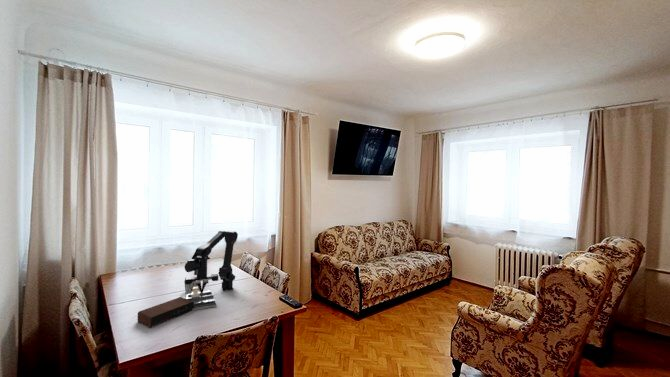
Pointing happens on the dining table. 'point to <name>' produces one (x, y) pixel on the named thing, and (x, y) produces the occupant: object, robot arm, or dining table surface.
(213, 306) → the rounded grey rails
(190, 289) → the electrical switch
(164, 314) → the dark wooden block
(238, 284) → the dining table surface
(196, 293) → the breaker lever
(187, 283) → the robot arm
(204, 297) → the breaker panel
